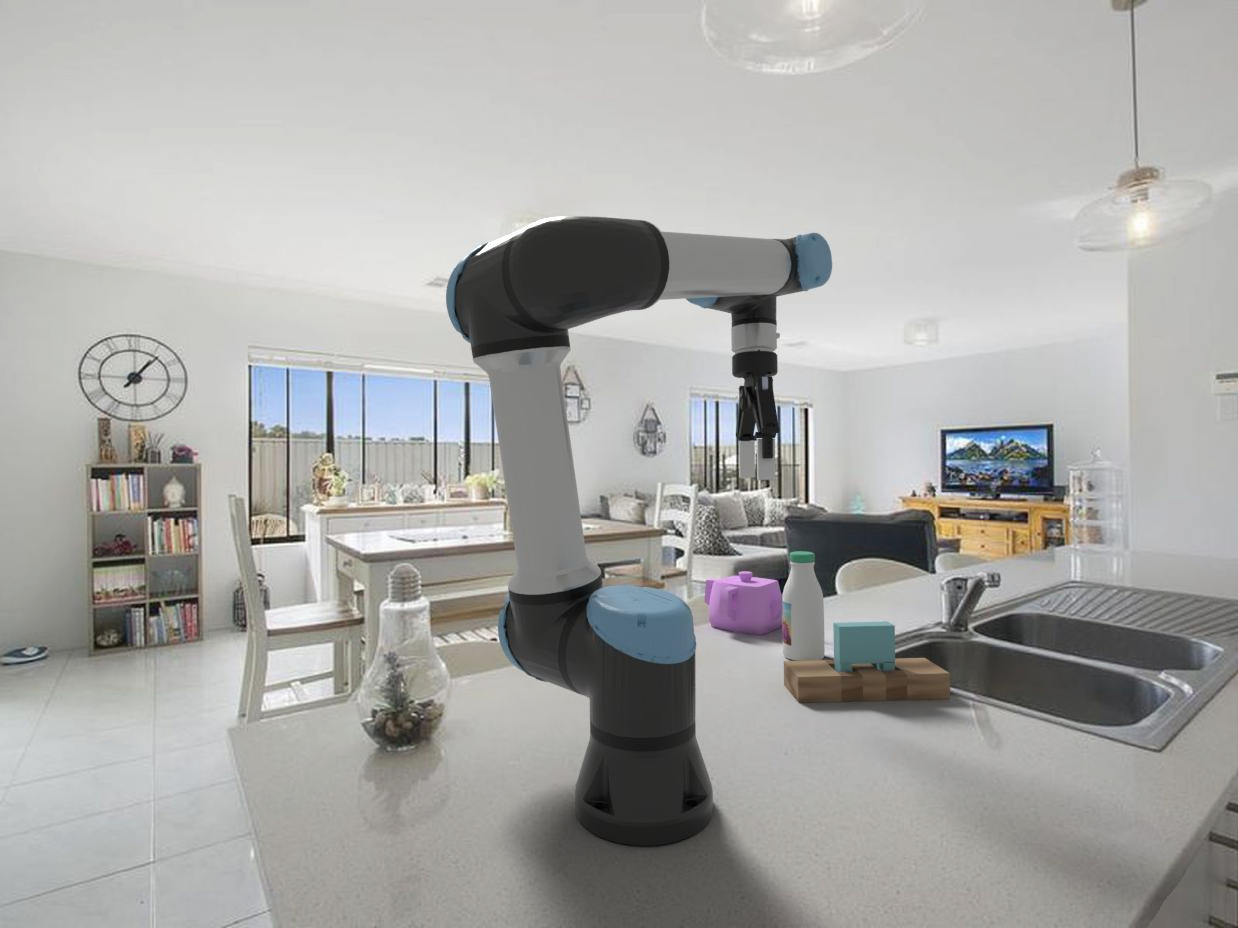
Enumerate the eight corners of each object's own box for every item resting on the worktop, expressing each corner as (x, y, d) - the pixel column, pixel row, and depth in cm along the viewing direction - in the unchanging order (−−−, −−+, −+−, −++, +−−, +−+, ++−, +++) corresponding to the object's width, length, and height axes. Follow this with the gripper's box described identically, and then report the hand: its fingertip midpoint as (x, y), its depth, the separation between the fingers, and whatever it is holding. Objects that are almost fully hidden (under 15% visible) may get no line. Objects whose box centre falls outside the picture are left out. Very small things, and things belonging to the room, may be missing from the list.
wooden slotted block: (950, 698, 102) (949, 673, 102) (798, 702, 101) (798, 676, 101) (924, 681, 110) (924, 657, 110) (784, 684, 109) (783, 660, 109)
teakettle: (701, 618, 156) (700, 567, 156) (770, 615, 158) (769, 564, 158) (719, 637, 139) (719, 580, 139) (796, 634, 141) (795, 577, 141)
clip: (895, 693, 104) (894, 625, 104) (840, 695, 104) (839, 626, 104) (888, 688, 107) (887, 621, 107) (834, 689, 107) (833, 622, 107)
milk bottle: (829, 654, 126) (828, 551, 126) (818, 665, 119) (816, 556, 119) (790, 648, 130) (788, 548, 130) (777, 659, 123) (775, 553, 123)
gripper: (798, 339, 98) (800, 480, 98) (758, 363, 122) (760, 476, 123) (749, 339, 97) (751, 481, 97) (719, 364, 122) (720, 476, 122)
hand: (756, 478), depth 110 cm, fingers open, 13 cm apart
